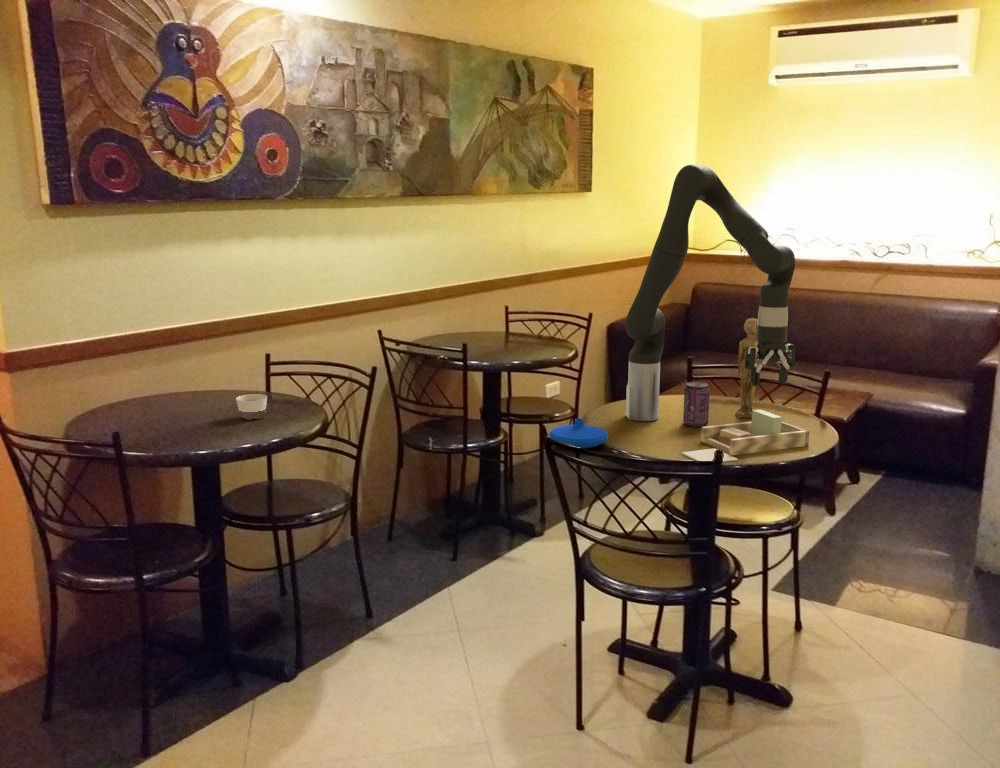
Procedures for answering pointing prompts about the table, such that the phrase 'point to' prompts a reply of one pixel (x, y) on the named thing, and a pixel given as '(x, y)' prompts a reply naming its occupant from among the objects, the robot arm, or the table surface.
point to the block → (765, 423)
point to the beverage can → (696, 404)
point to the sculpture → (746, 386)
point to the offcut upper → (733, 434)
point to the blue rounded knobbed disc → (579, 434)
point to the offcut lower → (724, 441)
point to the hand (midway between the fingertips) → (769, 384)
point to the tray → (756, 438)
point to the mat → (707, 455)
